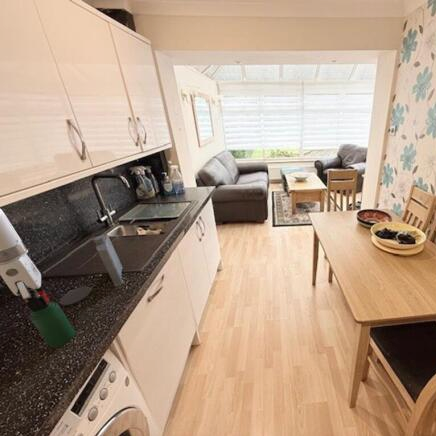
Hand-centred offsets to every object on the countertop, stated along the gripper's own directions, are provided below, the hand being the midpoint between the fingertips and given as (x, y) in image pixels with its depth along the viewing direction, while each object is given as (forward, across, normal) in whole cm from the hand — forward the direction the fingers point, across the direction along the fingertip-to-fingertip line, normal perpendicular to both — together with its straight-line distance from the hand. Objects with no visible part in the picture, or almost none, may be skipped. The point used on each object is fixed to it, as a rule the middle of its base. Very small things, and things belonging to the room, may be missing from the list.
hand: (40, 304), depth 70 cm
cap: (0, 0, 0) cm, 0 cm away
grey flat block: (+15, +24, -19) cm, 34 cm away
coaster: (+15, +22, -5) cm, 27 cm away
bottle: (+15, 0, 0) cm, 15 cm away
